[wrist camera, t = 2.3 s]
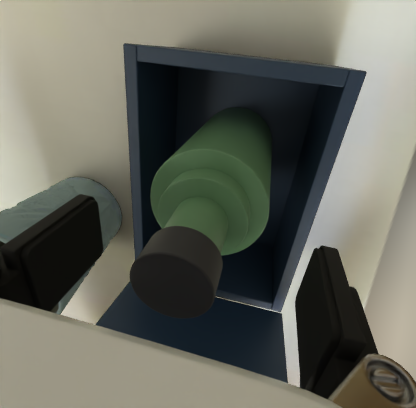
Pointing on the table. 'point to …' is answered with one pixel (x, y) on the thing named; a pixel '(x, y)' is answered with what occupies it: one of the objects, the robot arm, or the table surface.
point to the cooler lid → (208, 332)
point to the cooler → (281, 145)
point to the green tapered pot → (53, 199)
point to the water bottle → (205, 212)
